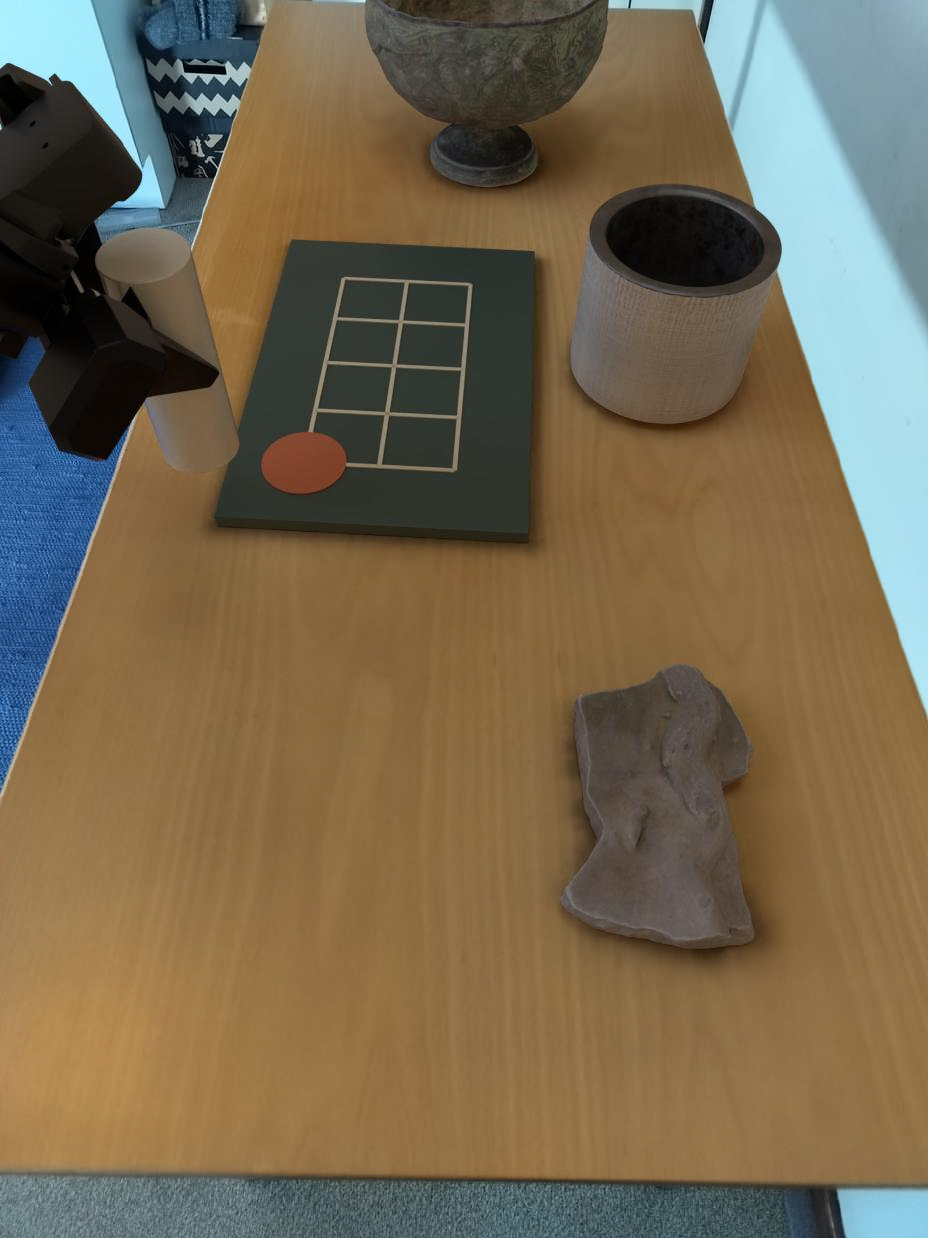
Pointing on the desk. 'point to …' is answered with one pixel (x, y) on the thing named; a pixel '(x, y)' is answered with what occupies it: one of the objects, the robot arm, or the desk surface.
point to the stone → (661, 812)
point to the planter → (671, 301)
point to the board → (391, 395)
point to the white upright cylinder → (171, 294)
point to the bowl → (486, 73)
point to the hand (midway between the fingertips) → (198, 352)
